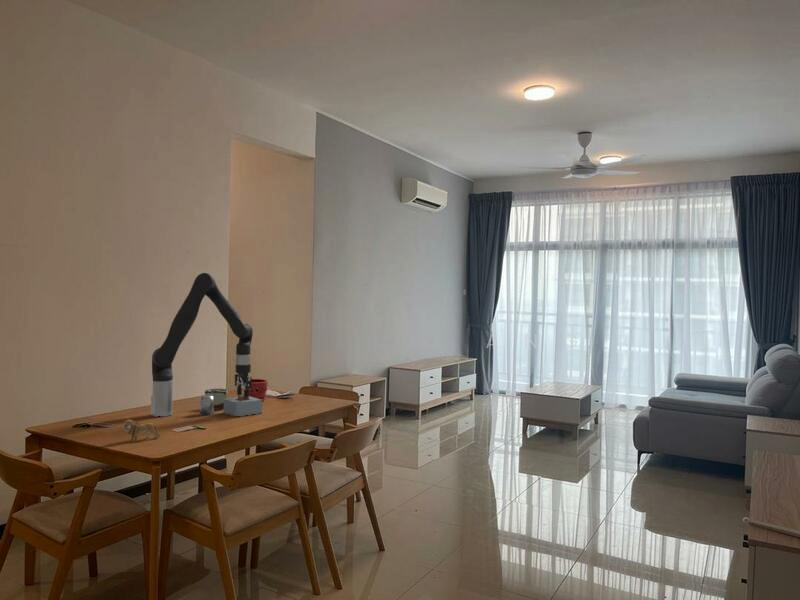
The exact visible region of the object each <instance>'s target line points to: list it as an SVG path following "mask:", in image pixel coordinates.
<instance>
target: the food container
mask: <svg viewBox="0 0 800 600" xmlns="http://www.w3.org/2000/svg"><path fill="white" fill-rule="evenodd" d="M228 393H229V392H228V390H227V388H209V389H205V390H204V394H203V395H213V396H214V410H218V409H224V399H227V395H229V394H228Z"/></svg>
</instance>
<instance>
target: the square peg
mask: <svg viewBox="0 0 800 600" xmlns="http://www.w3.org/2000/svg"><path fill="white" fill-rule="evenodd" d="M237 397H238V400H239V401H243V400H249V396H248V397H244V394H242V395H237Z"/></svg>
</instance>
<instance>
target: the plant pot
mask: <svg viewBox="0 0 800 600" xmlns="http://www.w3.org/2000/svg"><path fill="white" fill-rule="evenodd" d="M249 385H250V384H249ZM245 386H246V385H245ZM267 389H268V380H266V379H263V378H261V379H260V378H252V384H251V389H249V396H250V397H254V398H257V399H261V400H262V401H263V402H264V401H265V400H266V397H265V396H266V393H267V391H268V390H267Z"/></svg>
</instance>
